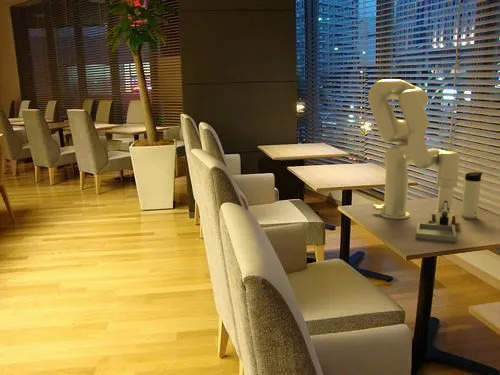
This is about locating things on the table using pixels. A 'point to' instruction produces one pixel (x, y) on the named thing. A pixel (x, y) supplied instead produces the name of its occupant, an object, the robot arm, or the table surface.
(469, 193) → the travel mug
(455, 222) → the walnut holder
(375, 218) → the table surface
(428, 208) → the table surface
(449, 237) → the serving tray
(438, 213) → the white piece
